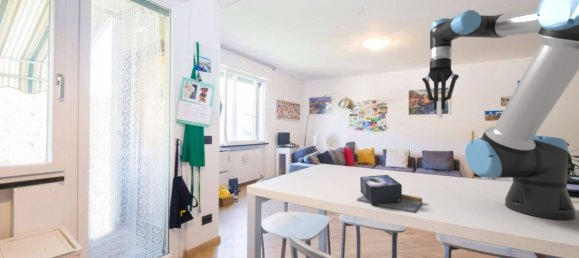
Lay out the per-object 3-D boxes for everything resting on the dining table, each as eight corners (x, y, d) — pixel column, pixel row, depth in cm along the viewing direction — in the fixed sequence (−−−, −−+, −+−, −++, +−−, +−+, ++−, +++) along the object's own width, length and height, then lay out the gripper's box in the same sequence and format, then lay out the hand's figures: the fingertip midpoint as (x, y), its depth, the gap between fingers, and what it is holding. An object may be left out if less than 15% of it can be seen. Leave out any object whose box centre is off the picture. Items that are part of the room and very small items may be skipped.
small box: (388, 173, 90) (402, 183, 79) (388, 190, 90) (402, 202, 80) (359, 175, 89) (370, 186, 79) (360, 192, 90) (371, 205, 80)
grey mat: (422, 203, 82) (422, 197, 82) (413, 212, 74) (413, 206, 74) (370, 193, 94) (370, 188, 94) (357, 200, 85) (357, 195, 85)
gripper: (460, 58, 98) (459, 117, 99) (424, 63, 107) (423, 117, 107) (458, 54, 92) (457, 116, 93) (420, 60, 101) (419, 117, 101)
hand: (439, 117), depth 100 cm, fingers closed
